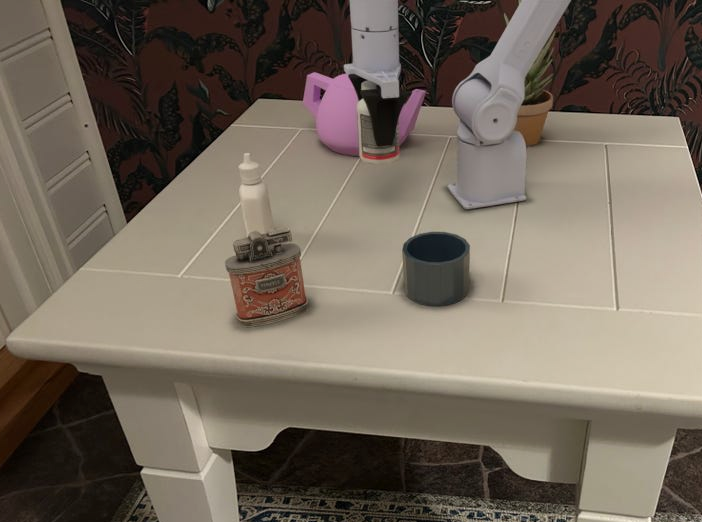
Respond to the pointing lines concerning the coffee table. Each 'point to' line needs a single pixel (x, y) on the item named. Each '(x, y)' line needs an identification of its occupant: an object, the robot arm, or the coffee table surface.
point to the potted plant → (534, 98)
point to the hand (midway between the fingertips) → (379, 136)
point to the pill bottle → (366, 138)
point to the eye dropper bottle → (254, 198)
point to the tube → (436, 268)
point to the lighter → (266, 278)
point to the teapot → (348, 112)
